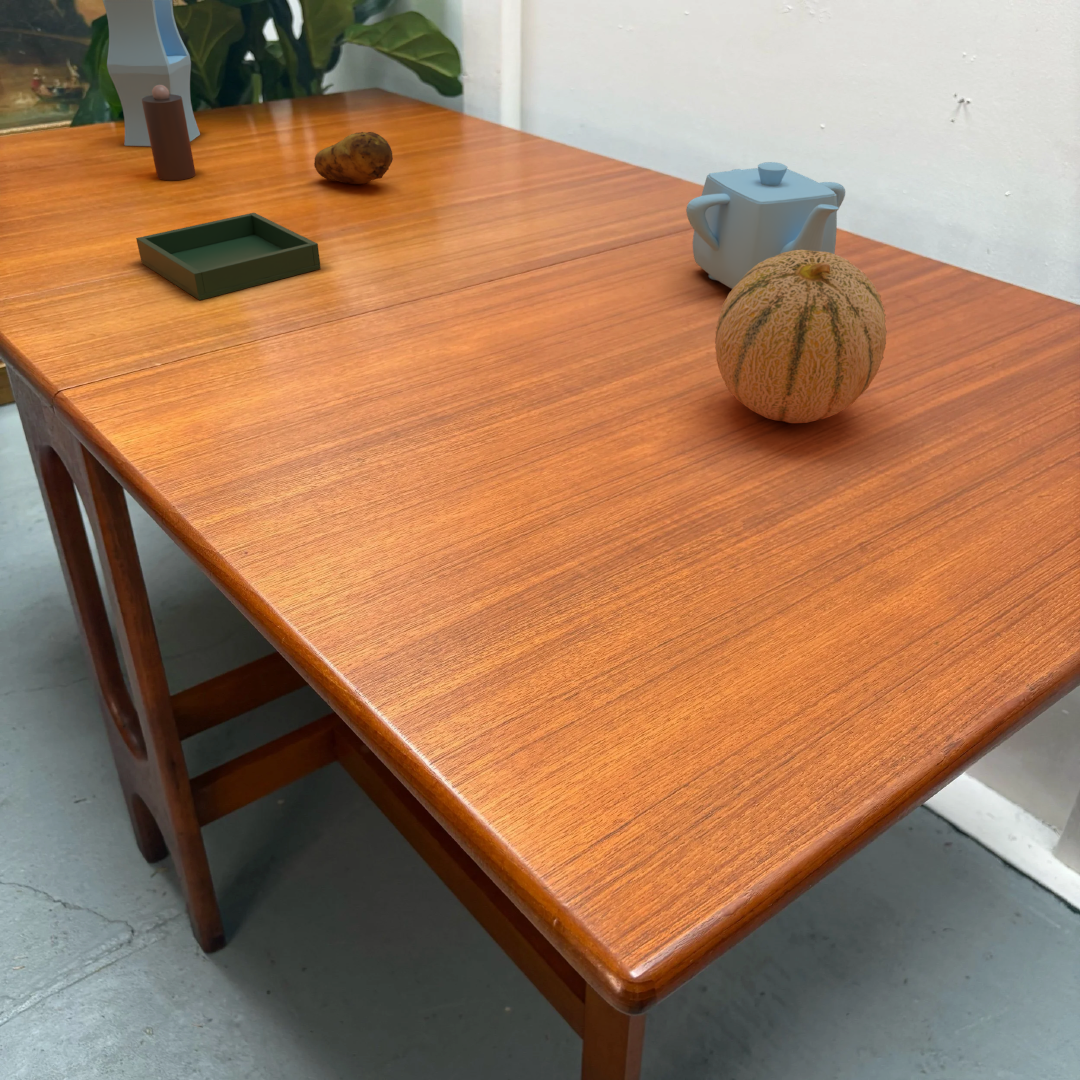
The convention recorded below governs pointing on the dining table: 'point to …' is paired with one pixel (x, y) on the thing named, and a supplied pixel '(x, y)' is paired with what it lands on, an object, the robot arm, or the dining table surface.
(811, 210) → the teapot
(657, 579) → the dining table surface
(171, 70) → the vase
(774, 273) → the cantaloupe
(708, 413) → the dining table surface
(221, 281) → the tray
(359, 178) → the potato
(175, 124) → the pepper mill
